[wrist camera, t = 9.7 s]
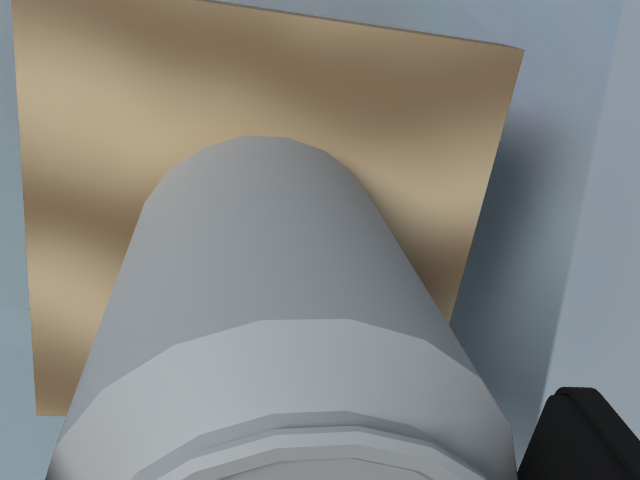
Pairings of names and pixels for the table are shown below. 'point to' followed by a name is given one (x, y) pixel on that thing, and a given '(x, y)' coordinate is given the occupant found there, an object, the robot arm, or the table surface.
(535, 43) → the table surface
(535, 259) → the table surface
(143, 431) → the can
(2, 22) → the table surface
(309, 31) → the stool
